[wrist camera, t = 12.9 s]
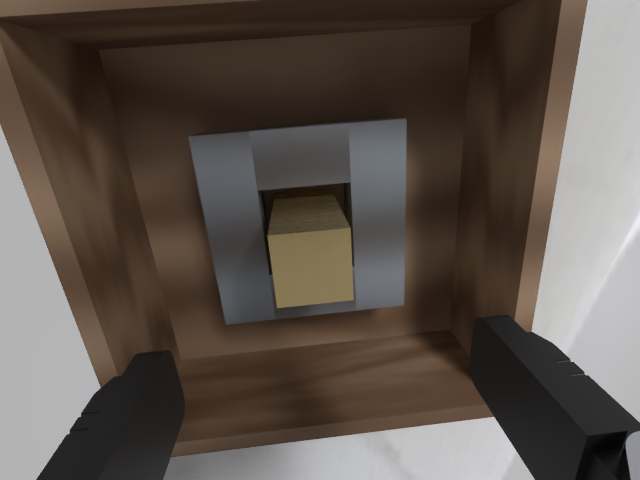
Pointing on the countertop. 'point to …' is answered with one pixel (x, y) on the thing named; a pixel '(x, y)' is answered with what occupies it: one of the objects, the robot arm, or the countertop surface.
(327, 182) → the walled box
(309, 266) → the tan wooden block
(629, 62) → the countertop surface
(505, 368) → the robot arm
